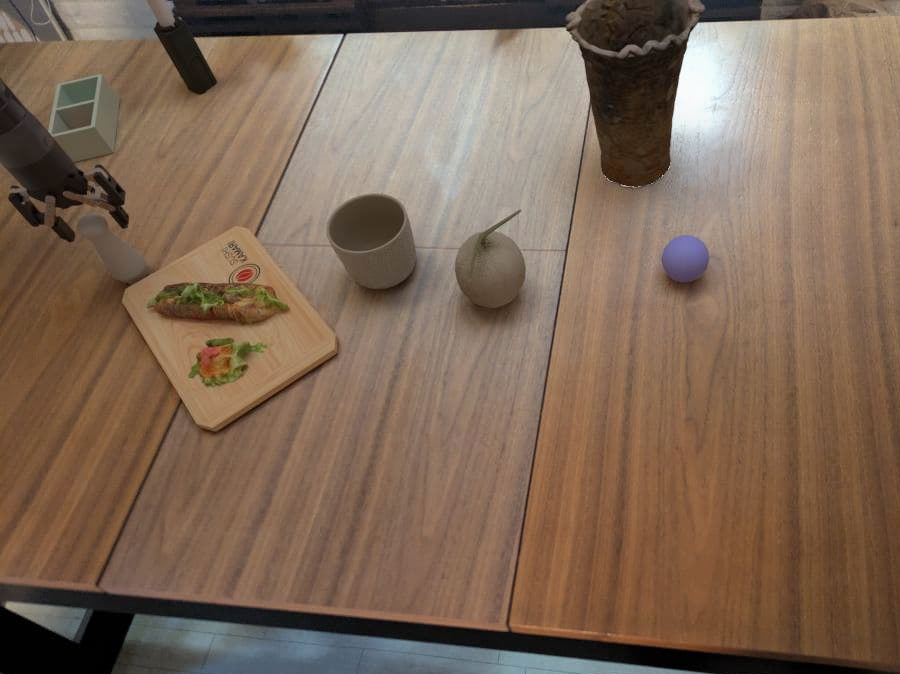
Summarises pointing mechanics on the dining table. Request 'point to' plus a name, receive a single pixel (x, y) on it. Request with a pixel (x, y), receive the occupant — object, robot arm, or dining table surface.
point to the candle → (182, 48)
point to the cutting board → (228, 327)
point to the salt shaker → (113, 249)
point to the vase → (633, 79)
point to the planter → (373, 240)
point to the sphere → (685, 258)
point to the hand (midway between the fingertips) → (99, 231)
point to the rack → (85, 117)
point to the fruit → (490, 267)
